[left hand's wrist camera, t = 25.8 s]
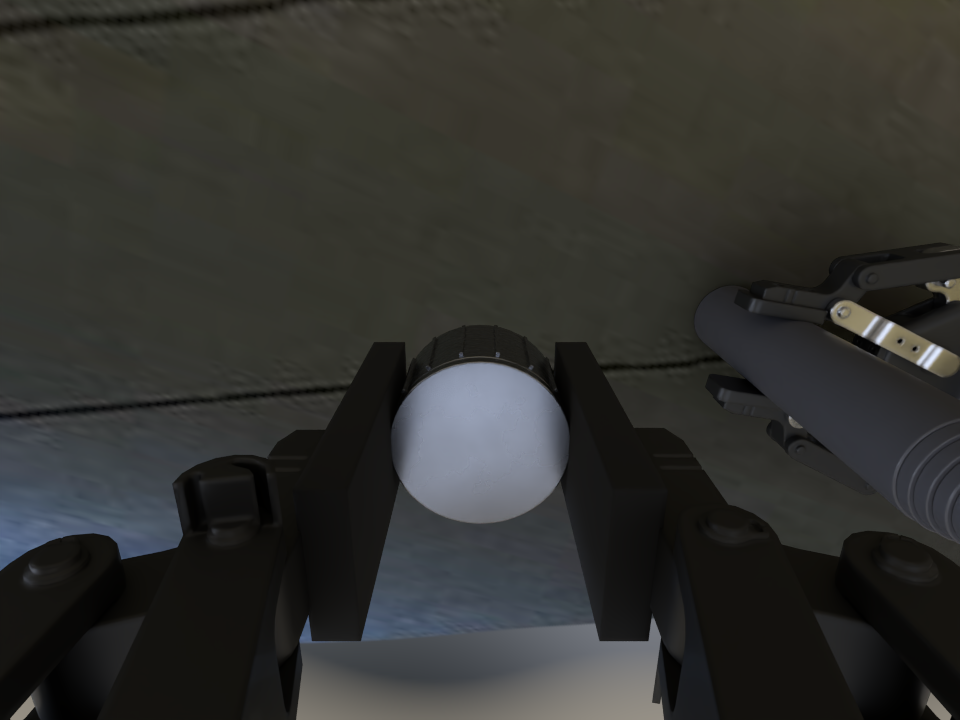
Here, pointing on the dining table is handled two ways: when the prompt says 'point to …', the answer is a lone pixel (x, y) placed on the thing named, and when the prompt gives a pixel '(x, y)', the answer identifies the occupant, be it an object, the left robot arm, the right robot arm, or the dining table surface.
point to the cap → (480, 426)
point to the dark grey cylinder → (849, 405)
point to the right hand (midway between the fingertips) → (728, 345)
